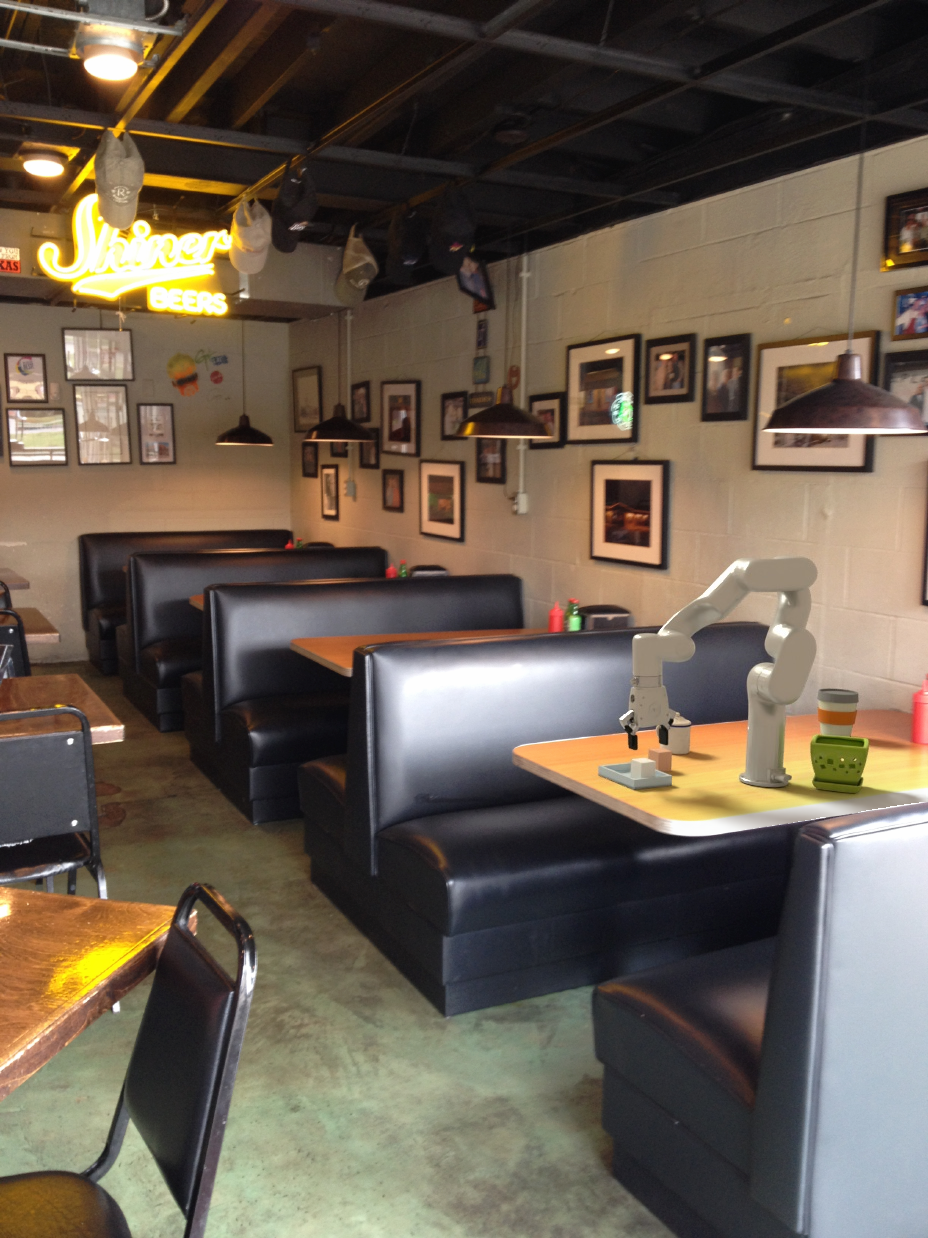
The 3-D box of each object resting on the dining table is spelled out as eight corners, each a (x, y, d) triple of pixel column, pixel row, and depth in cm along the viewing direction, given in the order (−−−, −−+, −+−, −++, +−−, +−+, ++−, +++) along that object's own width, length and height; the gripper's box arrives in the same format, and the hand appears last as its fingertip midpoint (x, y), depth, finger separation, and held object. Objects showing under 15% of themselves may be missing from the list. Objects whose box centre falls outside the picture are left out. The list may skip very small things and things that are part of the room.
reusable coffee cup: (806, 734, 331) (809, 689, 330) (835, 732, 337) (838, 687, 335) (835, 742, 320) (838, 695, 319) (865, 740, 325) (867, 693, 324)
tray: (671, 785, 263) (672, 775, 263) (633, 790, 258) (634, 780, 258) (634, 771, 277) (635, 761, 277) (598, 775, 272) (598, 765, 272)
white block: (654, 782, 263) (655, 761, 263) (640, 784, 261) (641, 763, 261) (644, 778, 267) (645, 757, 267) (630, 780, 265) (631, 759, 265)
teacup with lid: (696, 752, 302) (698, 714, 301) (675, 756, 296) (677, 717, 295) (666, 745, 311) (667, 707, 310) (645, 748, 306) (647, 710, 305)
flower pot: (867, 785, 268) (870, 737, 267) (865, 798, 256) (868, 748, 254) (811, 778, 274) (813, 732, 273) (806, 791, 261) (809, 742, 260)
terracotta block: (671, 771, 279) (672, 751, 278) (657, 772, 277) (658, 752, 276) (661, 767, 283) (661, 748, 282) (647, 768, 281) (648, 749, 280)
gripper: (628, 687, 255) (629, 754, 257) (683, 680, 262) (684, 745, 264) (611, 683, 261) (612, 748, 263) (665, 676, 269) (666, 740, 271)
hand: (648, 746), depth 264 cm, fingers open, 9 cm apart
